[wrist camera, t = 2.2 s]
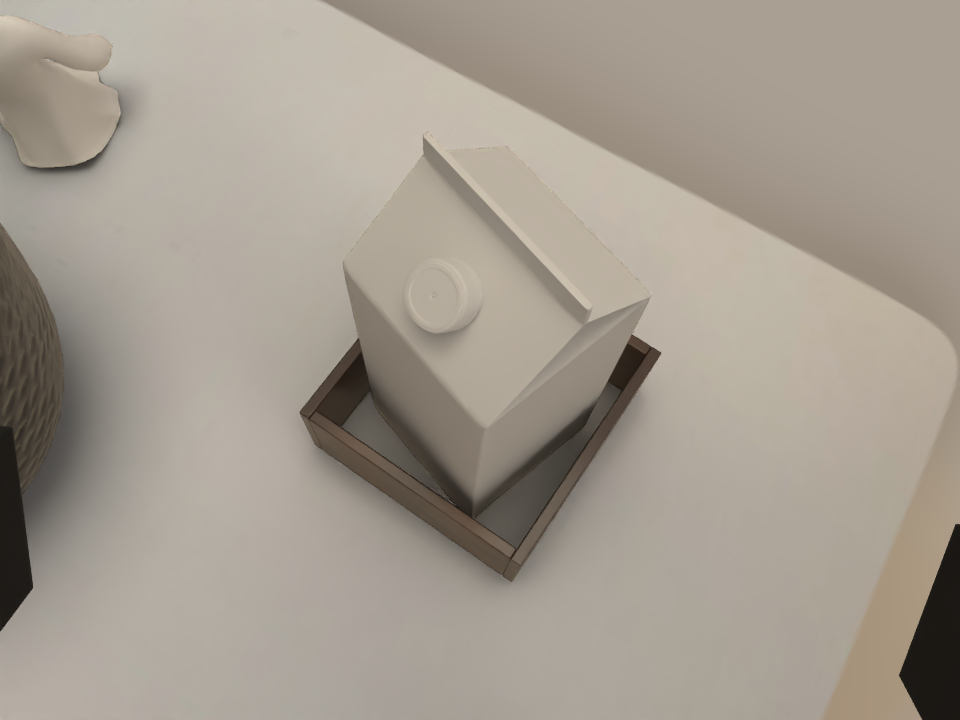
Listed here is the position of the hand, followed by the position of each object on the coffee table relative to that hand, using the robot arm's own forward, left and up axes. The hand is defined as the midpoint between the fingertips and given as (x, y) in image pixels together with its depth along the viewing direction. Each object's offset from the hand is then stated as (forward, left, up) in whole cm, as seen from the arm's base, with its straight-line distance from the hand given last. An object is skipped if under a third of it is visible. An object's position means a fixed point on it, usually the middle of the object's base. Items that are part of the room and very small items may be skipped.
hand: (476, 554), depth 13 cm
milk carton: (+5, -9, -28) cm, 30 cm away
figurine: (+32, -10, -28) cm, 44 cm away
